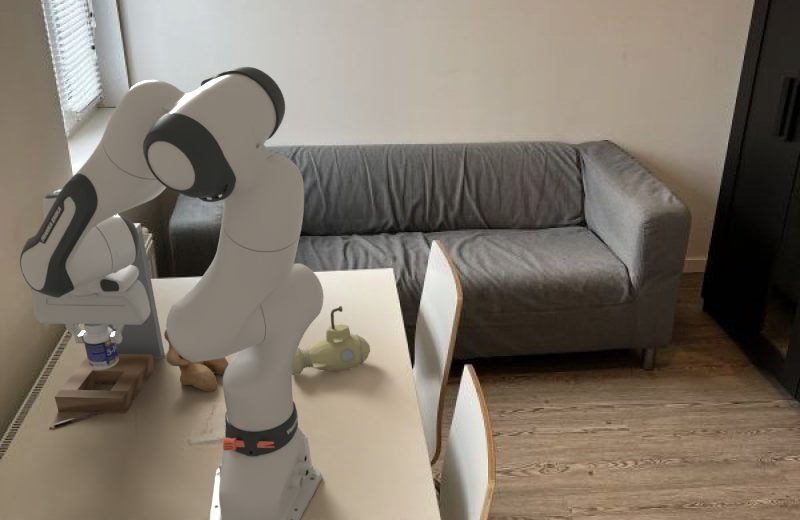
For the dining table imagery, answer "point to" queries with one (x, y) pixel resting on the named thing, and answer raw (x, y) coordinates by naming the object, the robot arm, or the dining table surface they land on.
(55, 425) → the pen
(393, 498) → the dining table surface
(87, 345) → the pill bottle
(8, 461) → the dining table surface
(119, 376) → the socket block
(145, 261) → the grey pedestal stand
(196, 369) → the figurine
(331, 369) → the toy
